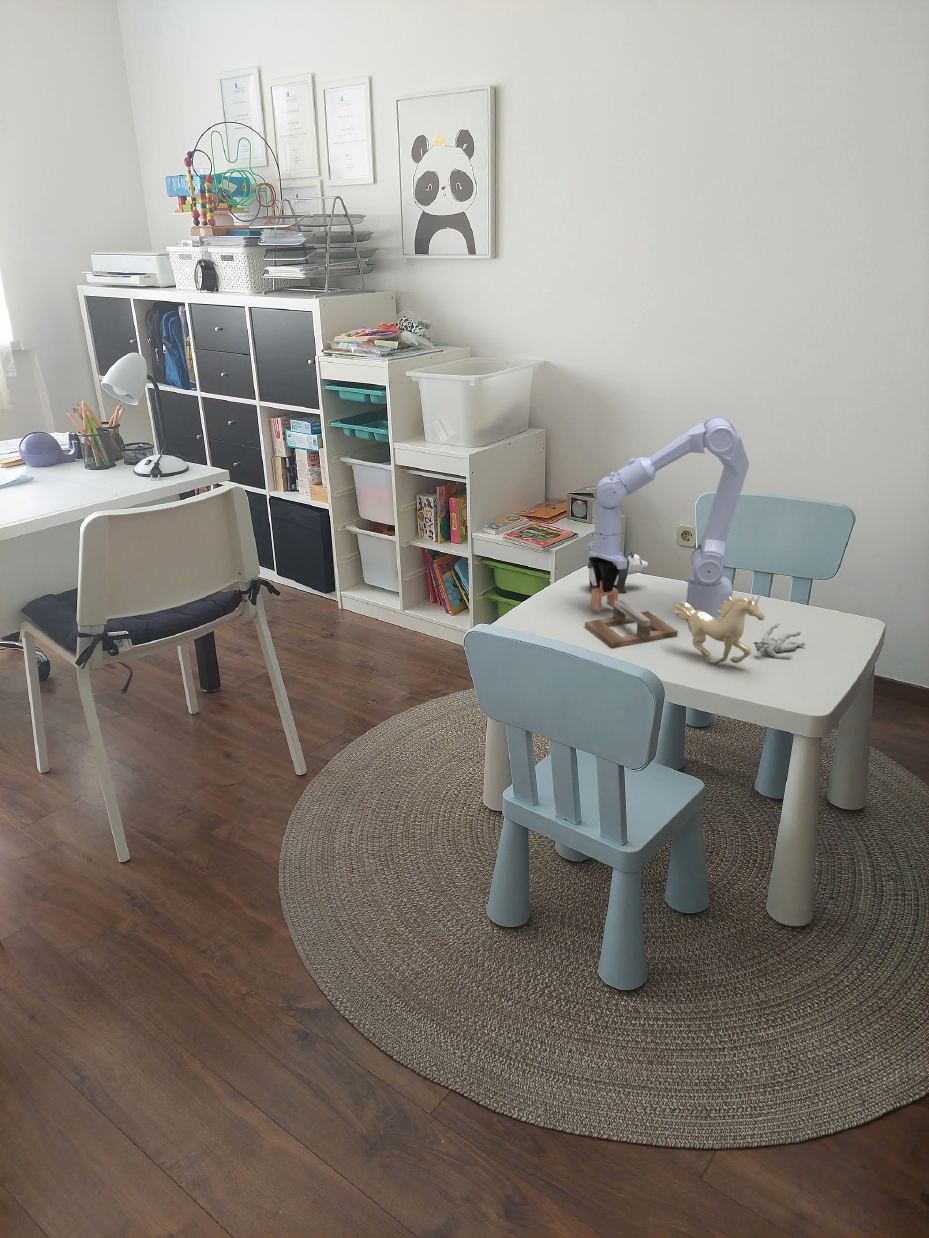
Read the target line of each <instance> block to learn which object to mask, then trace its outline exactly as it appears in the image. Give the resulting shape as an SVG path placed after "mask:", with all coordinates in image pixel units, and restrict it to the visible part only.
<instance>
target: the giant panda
mask: <svg viewBox="0 0 929 1238" xmlns="http://www.w3.org/2000/svg"><path fill="white" fill-rule="evenodd" d="M624 558H625V559H626V560H627V568H626V569H621V570H620V572H619V574H618V576H617V578H616V581H615V584H614V588H615V589H617V590H618V594H627V593H628V590H626V582H627V578H628V576H629V575H634V574H638V573H640V572H641V571H642V570H645V569H646V568H647V567H649V562H648V561H645V560H643V559H641V557H640V556H639V555H638V554H635V553H633V551H630V553H629V556H628V557H625V556H624ZM587 569H588V579H589V589H590V590H592V589H596V588H598V587H597V583H596V578H595V573H594V570H593V567H592V565H591V563H590V561H588V562H587Z"/></svg>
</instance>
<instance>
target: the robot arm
mask: <svg viewBox="0 0 929 1238" xmlns="http://www.w3.org/2000/svg"><path fill="white" fill-rule="evenodd" d="M705 448H706V449H707V450H708V451H709V452H710V453H711V454H712V455H713V456H715V457H716V458H718V459H719V461H720V462H721V464H722V465H723V468H722V472H721V475H720V479H719V482H718V485H717V489H716V492H715V496H714V499H713V501H712V505H711V509H710V513H709V516H708V519H707V522H706V526H705V529H704V532H703V535H702V536H701V538H700V539H699V543H698V545H697V546H696V548H694V550H693V551H692V552H691V555H690V562H691V565H692V569H693V570H692V572H691V573H689V575H688V580H687V581H688V582H687V584H688V585H687V592H686V601H685V602H687V603H689V604H690V605H691V606H692V607H693V608H694V609H695V610H700V611H704V612H706V613H708V614H709V615H710V616H712V617H714V618H722V617H720V615H719V614H718V613H719V612H718V611H717V610H718V609H722V608H721V607H720V605H722V604H724V603H723V601H730V598H729V596H730V597H732V598H733V595H734V594H733V592H734V591H733V585H732V582H731V581H730V579H728V577H727V576H724V573H725V572H724V570H725V569H724V565H723V561H724V557H725V550H726V549H725V547H726V541H727V539H728V536H729V532H730V529H731V525H732V522H733V519H734V515H735V514H736V513H735V512H736V509H737V505H738V504H739V500H740V496H741V492H742V489H743V486H744V483H745V479H746V477H747V473H748V471H749V467H750V461H749V457H748V455H747V452H746V449H745V446H744V443H743V441H742V437H741V436H740V435H739V433H738V431H737V429H736V428H735V427H734V426H733V423H731V422H730V421H729V420H728V418H726V417H724V416H720V415H718V416H717V415H716V416H712V417H709V418H708V419H706V420H705V422H704V423H703V422H701V423H699V424H696V425H695V426H694V427H691V429H689V430H687V431H685V433H683V434H682V435H680V436H679V437H678V438H676V439H675V440H673V441H672V442H670V443H668V444H667V445H666V446H665V447H663V448H661V449H660V450H658V451H657V452H656V453H654V454H653V455H651V456H650V457H644V456H643V457H642V456H639V457H638V458H636V459H635V457H632V458H630V459H629V460H628V464H626V465H625V466H623V467H622V468H621V469H619V470H617V471H612V472H610V474H609V476H604V477H602V478H601V479H600V480H599V481H598V482H597V485H596V487H595V488H596V489H595V491H596V493H595V496H596V500H597V501H596V503H595V504H596V506H595V507H596V509H595V516H594V535H593V537H594V540H592V541H591V540H590V541H587V543H586V545H587V546H586V550H587V551H589V552H588V554H589V558H588V560H589V561H588V562H590V563H591V565H592V567H593V570H594V573H595V578H596V583H597V587H598V588H600V581H601V580H602V589H603V591H604V592H609V591H612V590H613V587H614V584H615V581H616V578H617V576H618V574H619V572H620V570H621V569H626V568H627V560H626V559H625V558H624V557H625V556H624V555H623V552H622V551H621V535H622V534H621V532H622V517H623V516H622V515H623V511H622V509H621V508H622V503H623V502H624V498H625V497H627V496H631V494H633V493H635V492H636V491H638V490H640V489H641V488H644V487H645V486H646V485H648V484H650V483H651V482H652V481H654V480H655V477H656V473H657V472H658V471H659V470H662V469H663V468H665V467H666V466H668V465H670V464H671V463H674V462H676V461H677V460H678V459H680V458H682V457H685V456H686V455H688V454H689V453H694V454H705V453H706V451H705Z"/></svg>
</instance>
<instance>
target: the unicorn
mask: <svg viewBox="0 0 929 1238" xmlns="http://www.w3.org/2000/svg"><path fill="white" fill-rule="evenodd" d="M761 594H762V593H760V594H759V595H758V597H757V598H756V600H755V598H754V596H752V597H751V599H750V598H747V597H744V596H738V597H733V596H732V597H730V596H729V598H730V601H723V603H724V604H722V605H720V607H721V608H722V609H718V610H717V611H718V612H719V613H718V614H719V615H720V617H722V618H714V617H712V616H710V615H709V614H708V613H706V612H704V611H700V610H695V609H694V608H693V607H692V606H691V605H690V604H689V603H687V602H686V601H684V600H683V601H682V600H680V601H679V602H678V603H675V604H674V608H673V609H672V610H670V613H672V614H673V613H676V614H675V615H676V616H677V617H678V616H679V617H681V618H683V619H685V620H687V625H688V629H689V632H690V634H691V636H692V637H693V639H692V646H693V647H694V648H695V649H697V650H698V651H699V652H701V655H702V656H703V657H704V658H706V659H709V658H711V657H712V656H711V654H712V653H711V652H710V651H709V650H708V649H707V648H706V647H705V646H704V645H703V643H705V642H706V640H707V639H706V638H707V636H708V637H710V638H711V639H713V640H715V641H717V642H722V643H724V650H723V655H722V657H719V658H713V659H711V660H709V662H708V663H709V664H711V665H718V664H719V663H723V662H726V661H727V659H728V658H729V655H730V653H731V651H732V647H733V646H734V647H736V648H737V649H739V650H740V651H742V652H743V655H741V656H737V655H736V656H733V657H730V658H729V661H731V662H732V663H734V664H737V663H740V662H742V661H744V659H746V658H747V657H749V656H750V655H751V654H752V653H751V652H752V650H751V648H750V646H748V645H746V644H744V643H743V642H741V641H740V639H741V638H742V636H743V634H744V628H745V617H746V615H749V616H751V617H754V618H756V619H758V621H764V620H765V618H766V616H765V613H763V611H762V610H761V609H759V605H758V602H759V600H760V598H761Z"/></svg>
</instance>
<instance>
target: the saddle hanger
mask: <svg viewBox="0 0 929 1238" xmlns="http://www.w3.org/2000/svg"><path fill="white" fill-rule="evenodd" d="M590 590H591V592H590V593H591V595H590V607H591V608H592V609H593V610H595V611H596V612H600V611H601V612H602V597H605V596H606V605H608V606H609V607H611V608H612V609H613V607H614V601H619V598H618V597H619V593H618V590H617V588H614V587H613V590H612V591H609V592H604V591H603V589H602V580H601V581H600V588H596V589H590Z"/></svg>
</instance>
